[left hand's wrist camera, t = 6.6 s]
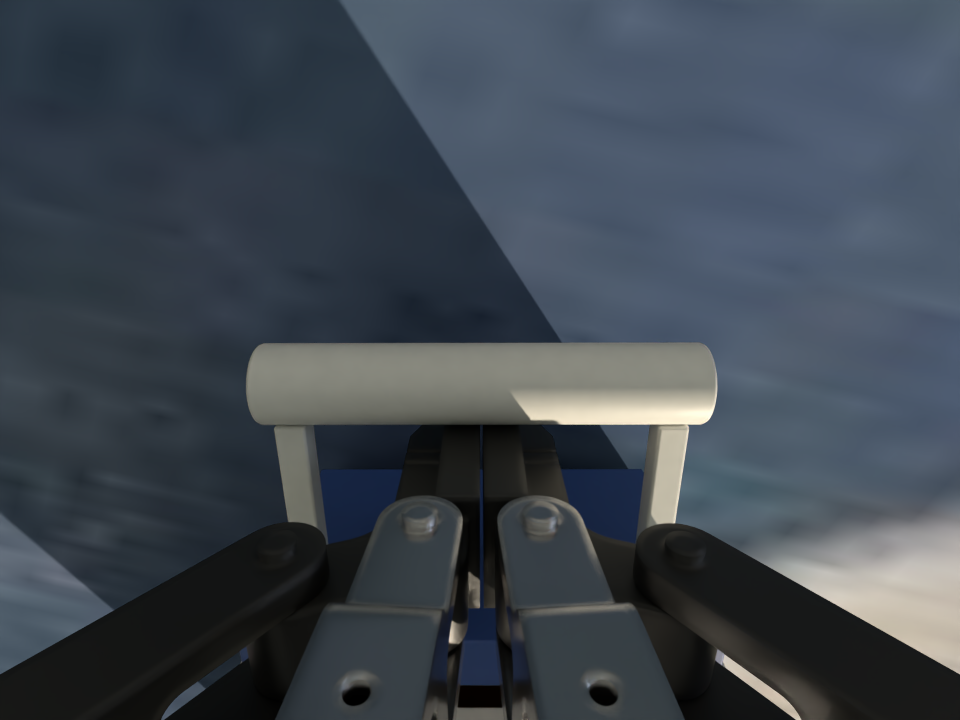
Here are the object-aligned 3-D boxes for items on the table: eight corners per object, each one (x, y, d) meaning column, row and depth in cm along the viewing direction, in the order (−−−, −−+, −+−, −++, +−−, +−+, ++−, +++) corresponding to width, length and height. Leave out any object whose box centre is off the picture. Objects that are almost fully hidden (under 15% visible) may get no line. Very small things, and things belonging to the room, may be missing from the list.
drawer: (299, 287, 14) (180, 380, 9) (663, 286, 14) (783, 379, 9) (362, 801, 22) (320, 1033, 16) (602, 802, 22) (645, 1034, 16)
